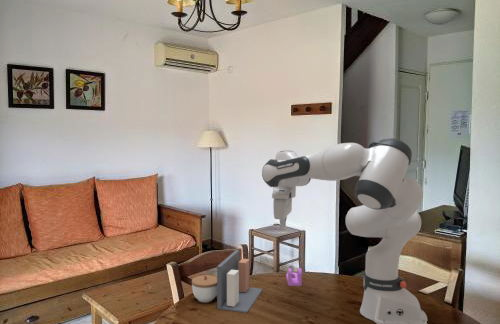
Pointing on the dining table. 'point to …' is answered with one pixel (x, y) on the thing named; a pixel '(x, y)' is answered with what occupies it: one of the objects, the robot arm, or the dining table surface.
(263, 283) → the dining table surface
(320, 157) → the robot arm
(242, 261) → the salmon pink block
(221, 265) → the gray bookend
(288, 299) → the dining table surface
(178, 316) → the dining table surface
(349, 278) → the dining table surface
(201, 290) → the lidded jar
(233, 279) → the white rectangular block
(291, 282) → the bracket
